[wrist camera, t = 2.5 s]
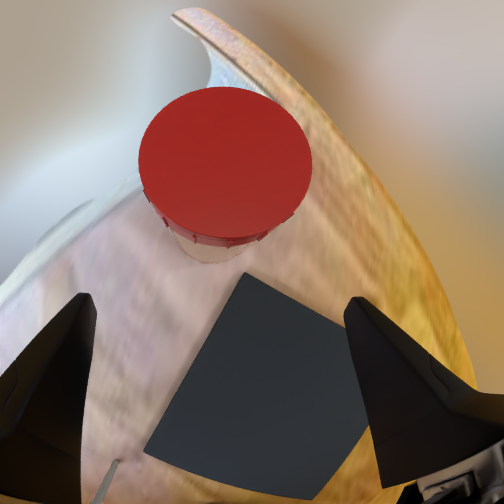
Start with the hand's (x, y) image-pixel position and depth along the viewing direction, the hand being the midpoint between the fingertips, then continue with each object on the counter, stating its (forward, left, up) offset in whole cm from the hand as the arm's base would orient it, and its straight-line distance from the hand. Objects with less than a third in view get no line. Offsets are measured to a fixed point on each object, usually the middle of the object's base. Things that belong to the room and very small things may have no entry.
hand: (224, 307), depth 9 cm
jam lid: (+5, +3, -1) cm, 6 cm away
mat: (-6, -10, -12) cm, 17 cm away
